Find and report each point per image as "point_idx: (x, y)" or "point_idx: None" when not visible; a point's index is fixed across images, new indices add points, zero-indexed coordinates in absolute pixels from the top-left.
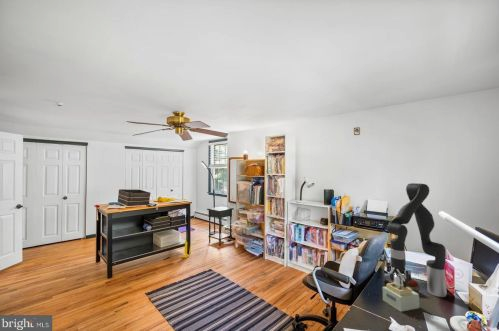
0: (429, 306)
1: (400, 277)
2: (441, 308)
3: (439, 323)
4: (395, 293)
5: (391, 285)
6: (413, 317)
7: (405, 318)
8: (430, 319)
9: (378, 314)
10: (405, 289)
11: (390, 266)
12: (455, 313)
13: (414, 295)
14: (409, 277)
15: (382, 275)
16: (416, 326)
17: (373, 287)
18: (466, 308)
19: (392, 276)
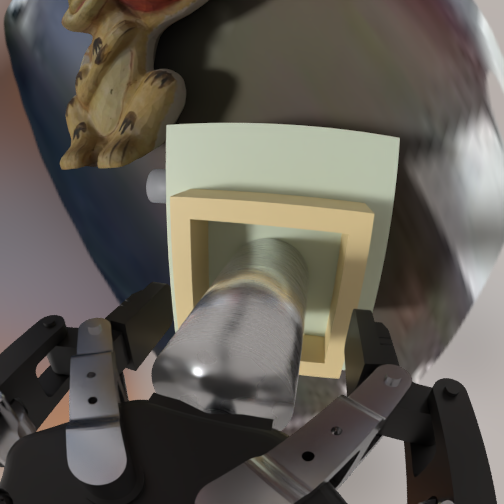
0: (377, 52)
1: (287, 416)
2: (412, 12)
3: (498, 209)
4: None
5: None
6: (412, 293)
7: (393, 340)
8: (466, 217)
9: (308, 413)
10: (346, 297)
11: (19, 395)
12: (463, 8)
13: (390, 203)
14: (452, 438)
15: (23, 46)
16: (446, 346)
17: (84, 209)
18: None
19: (145, 338)
